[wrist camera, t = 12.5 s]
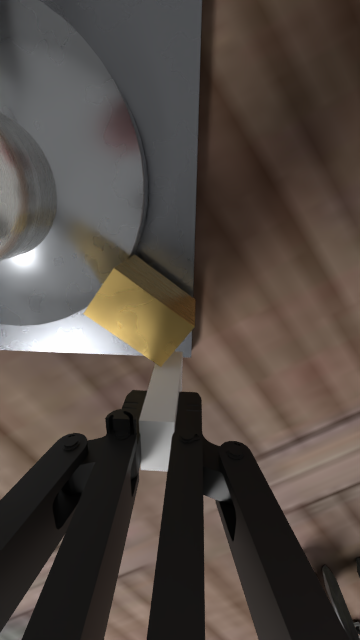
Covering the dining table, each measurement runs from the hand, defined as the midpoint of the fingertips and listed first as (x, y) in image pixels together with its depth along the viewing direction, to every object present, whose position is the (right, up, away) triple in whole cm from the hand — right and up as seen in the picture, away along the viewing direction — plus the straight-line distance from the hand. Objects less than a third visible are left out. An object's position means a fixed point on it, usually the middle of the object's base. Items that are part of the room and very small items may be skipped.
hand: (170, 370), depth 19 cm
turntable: (-8, +10, 0) cm, 13 cm away
